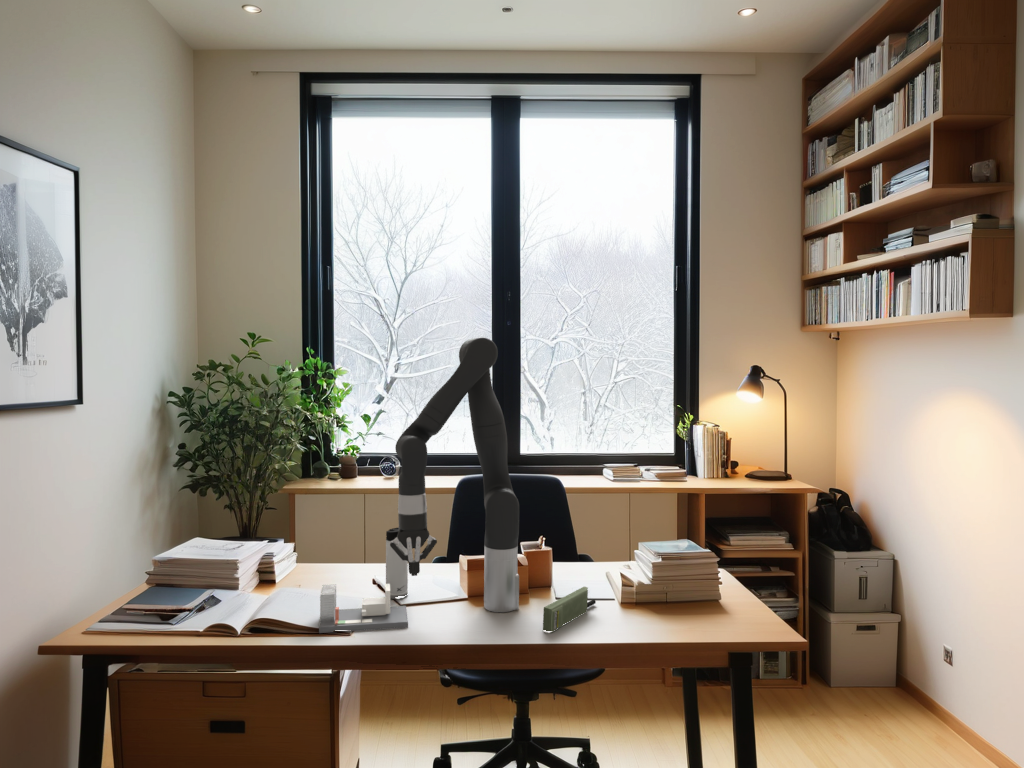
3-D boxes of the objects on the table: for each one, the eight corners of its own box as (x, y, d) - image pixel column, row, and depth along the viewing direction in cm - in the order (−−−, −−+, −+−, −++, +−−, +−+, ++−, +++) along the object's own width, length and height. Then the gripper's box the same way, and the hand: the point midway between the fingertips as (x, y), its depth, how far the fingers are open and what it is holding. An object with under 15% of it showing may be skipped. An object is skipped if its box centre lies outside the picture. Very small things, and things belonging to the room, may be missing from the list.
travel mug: (404, 600, 199) (404, 530, 199) (382, 598, 201) (382, 529, 200) (411, 593, 206) (412, 525, 205) (390, 591, 207) (390, 524, 206)
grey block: (336, 610, 187) (336, 584, 187) (334, 621, 179) (334, 594, 179) (322, 611, 186) (322, 584, 186) (320, 622, 178) (320, 594, 178)
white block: (389, 607, 188) (389, 583, 188) (390, 617, 181) (390, 592, 181) (362, 609, 187) (362, 584, 187) (361, 619, 180) (361, 594, 179)
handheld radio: (540, 631, 178) (588, 604, 198) (551, 635, 176) (598, 607, 196) (541, 606, 177) (589, 581, 198) (552, 609, 175) (599, 584, 196)
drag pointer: (338, 618, 180) (338, 607, 180) (338, 624, 176) (338, 612, 176) (335, 618, 180) (335, 607, 180) (334, 624, 176) (334, 612, 176)
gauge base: (406, 611, 191) (406, 604, 191) (407, 627, 179) (408, 620, 179) (322, 615, 187) (322, 609, 187) (319, 633, 175) (319, 626, 175)
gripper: (436, 505, 191) (437, 569, 191) (386, 508, 188) (388, 572, 188) (438, 511, 183) (440, 577, 184) (387, 514, 181) (389, 581, 181)
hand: (414, 574), depth 186 cm, fingers closed
